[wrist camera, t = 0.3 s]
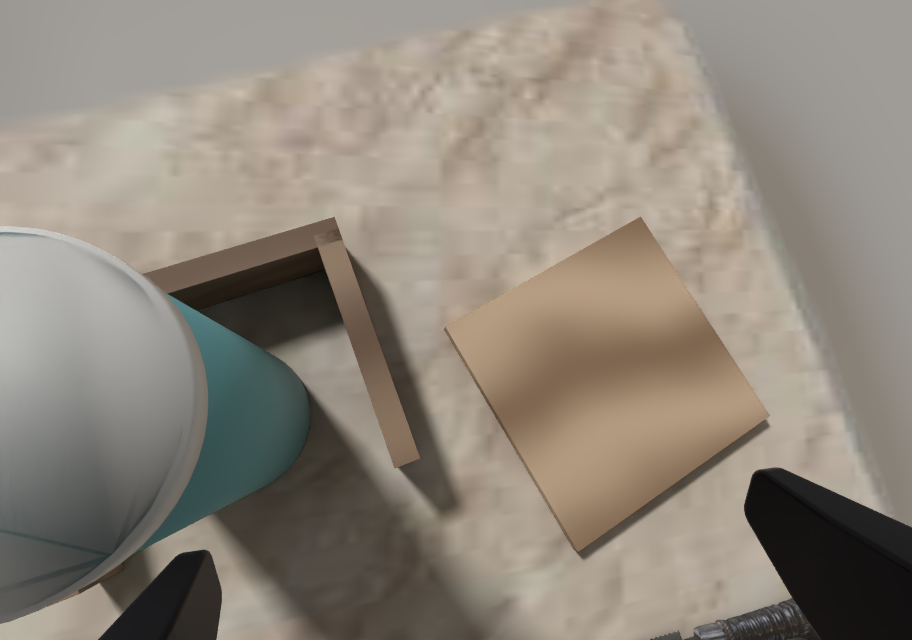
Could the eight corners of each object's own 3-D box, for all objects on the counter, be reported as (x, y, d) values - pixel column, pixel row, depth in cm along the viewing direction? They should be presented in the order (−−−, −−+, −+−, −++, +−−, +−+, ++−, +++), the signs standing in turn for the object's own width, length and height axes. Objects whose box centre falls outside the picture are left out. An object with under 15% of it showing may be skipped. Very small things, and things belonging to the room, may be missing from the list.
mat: (760, 415, 25) (769, 415, 24) (573, 548, 22) (578, 552, 22) (634, 221, 26) (640, 216, 25) (444, 329, 24) (445, 327, 23)
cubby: (416, 453, 22) (420, 458, 19) (96, 580, 20) (46, 606, 17) (341, 242, 24) (334, 216, 21) (33, 337, 21) (-24, 323, 18)
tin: (339, 445, 22) (259, 483, 8) (199, 527, 21) (-159, 728, 7) (270, 319, 23) (92, 166, 9) (130, 392, 21) (-320, 341, 8)
